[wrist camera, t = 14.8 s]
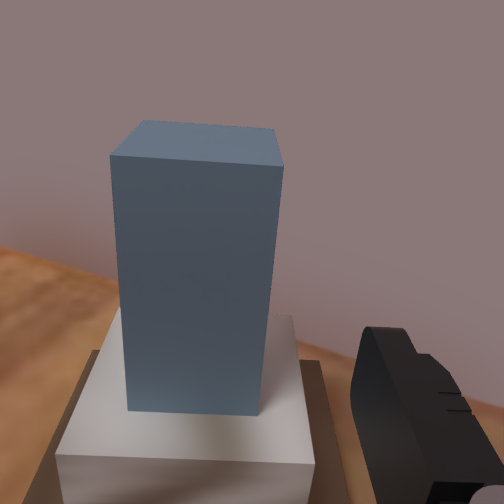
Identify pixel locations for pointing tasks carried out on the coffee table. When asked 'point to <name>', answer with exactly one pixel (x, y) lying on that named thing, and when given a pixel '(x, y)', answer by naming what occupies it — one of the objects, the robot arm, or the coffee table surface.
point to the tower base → (195, 440)
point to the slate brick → (195, 263)
